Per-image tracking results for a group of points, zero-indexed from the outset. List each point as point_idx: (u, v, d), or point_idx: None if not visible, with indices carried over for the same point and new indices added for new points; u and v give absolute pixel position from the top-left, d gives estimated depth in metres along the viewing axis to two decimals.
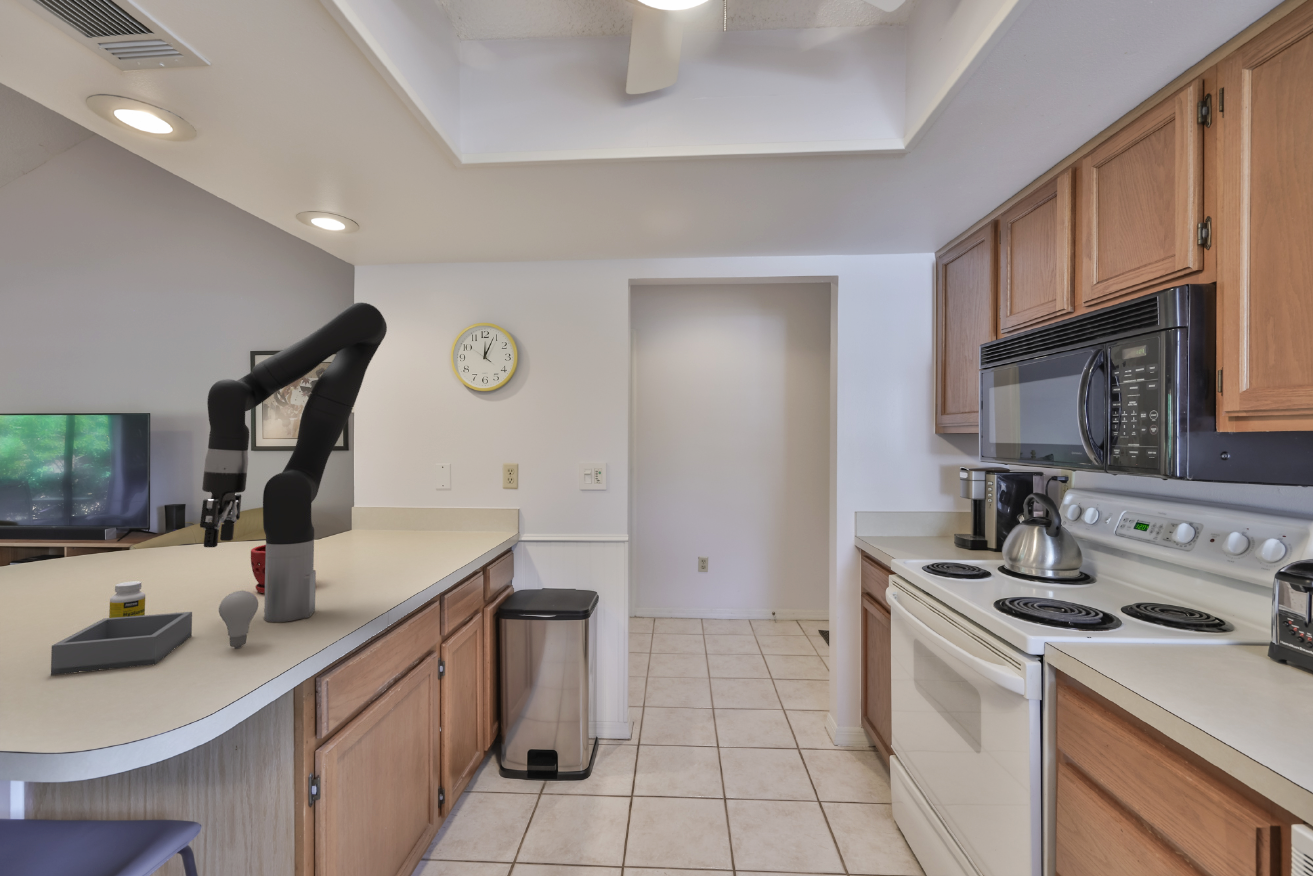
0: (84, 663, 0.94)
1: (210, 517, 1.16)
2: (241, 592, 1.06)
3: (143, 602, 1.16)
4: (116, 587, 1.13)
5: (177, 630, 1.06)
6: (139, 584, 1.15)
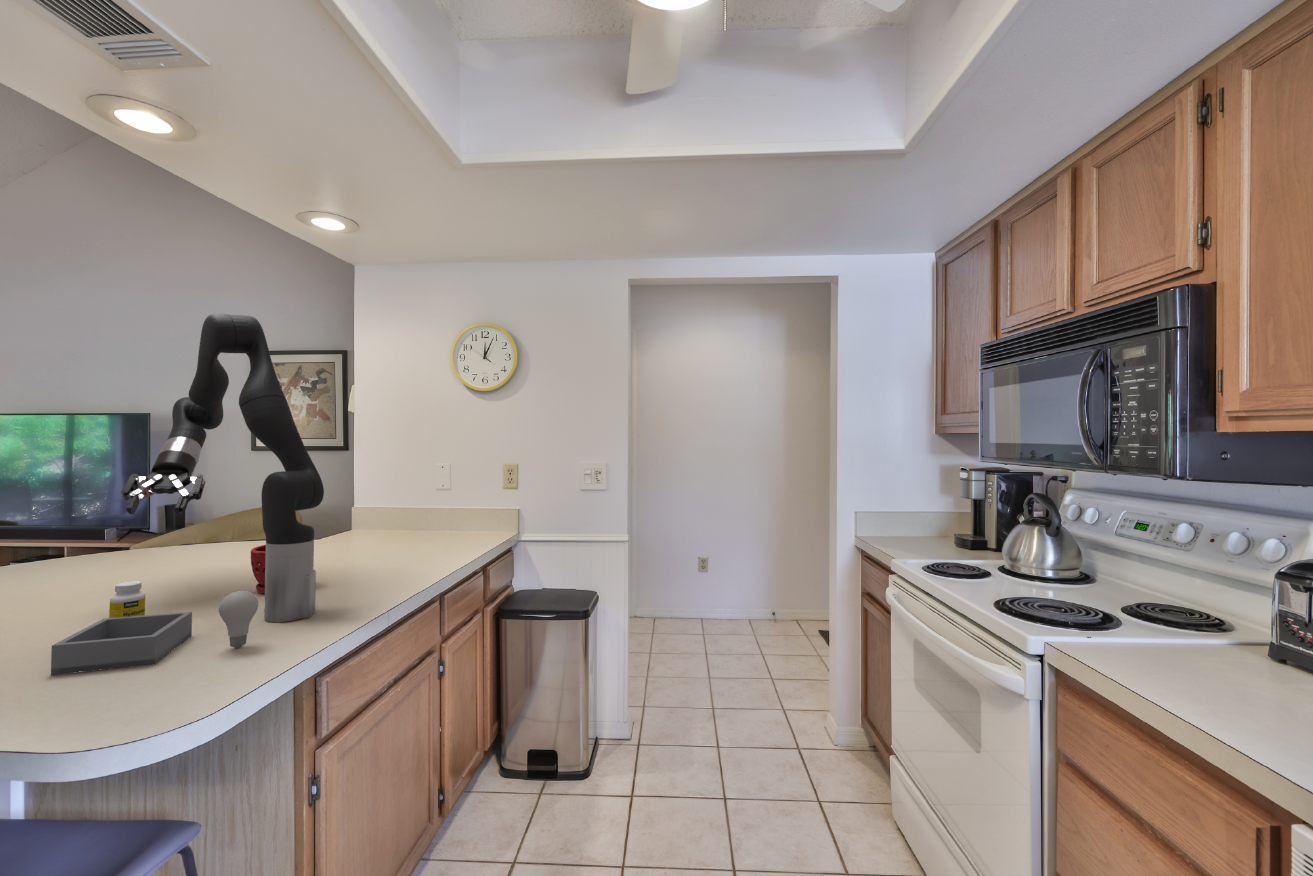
0: (84, 663, 0.94)
1: None
2: (241, 592, 1.06)
3: (143, 602, 1.16)
4: (116, 587, 1.13)
5: (177, 630, 1.06)
6: (139, 584, 1.15)
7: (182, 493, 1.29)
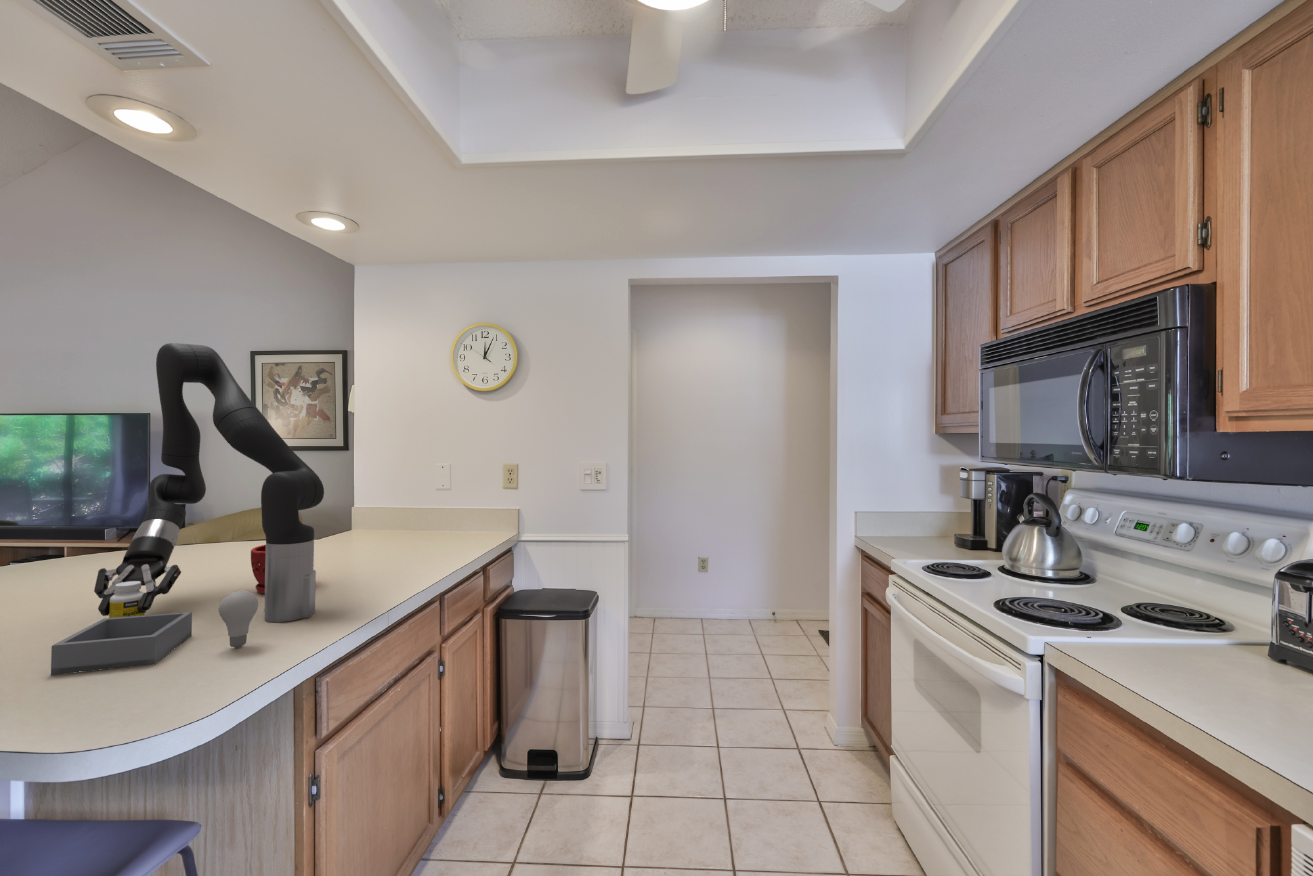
0: (84, 663, 0.94)
1: None
2: (241, 592, 1.06)
3: None
4: (116, 587, 1.13)
5: (177, 630, 1.06)
6: (139, 584, 1.15)
7: (147, 588, 1.16)
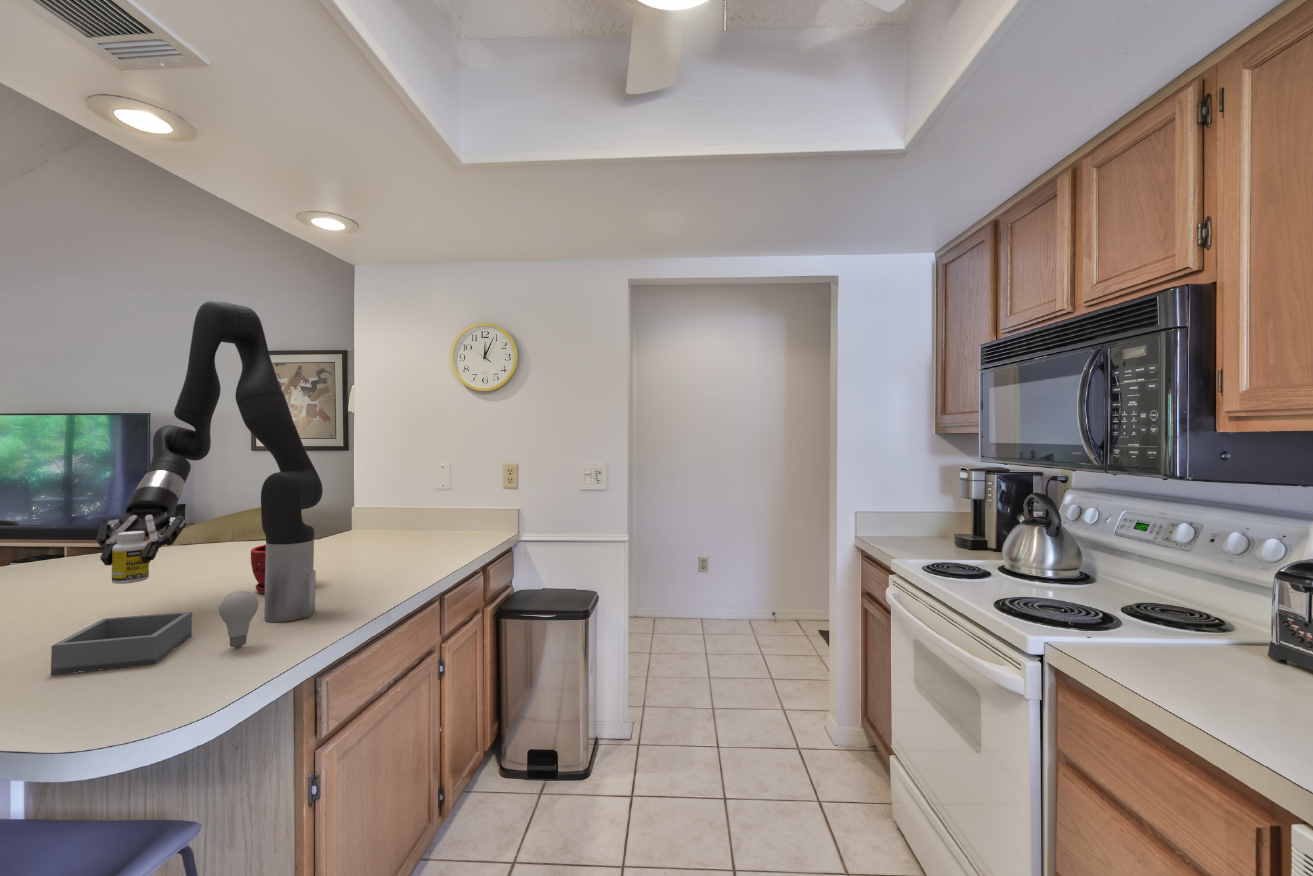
0: (84, 663, 0.94)
1: None
2: (241, 592, 1.06)
3: None
4: (118, 535, 1.08)
5: (177, 630, 1.06)
6: (142, 533, 1.10)
7: (151, 538, 1.12)
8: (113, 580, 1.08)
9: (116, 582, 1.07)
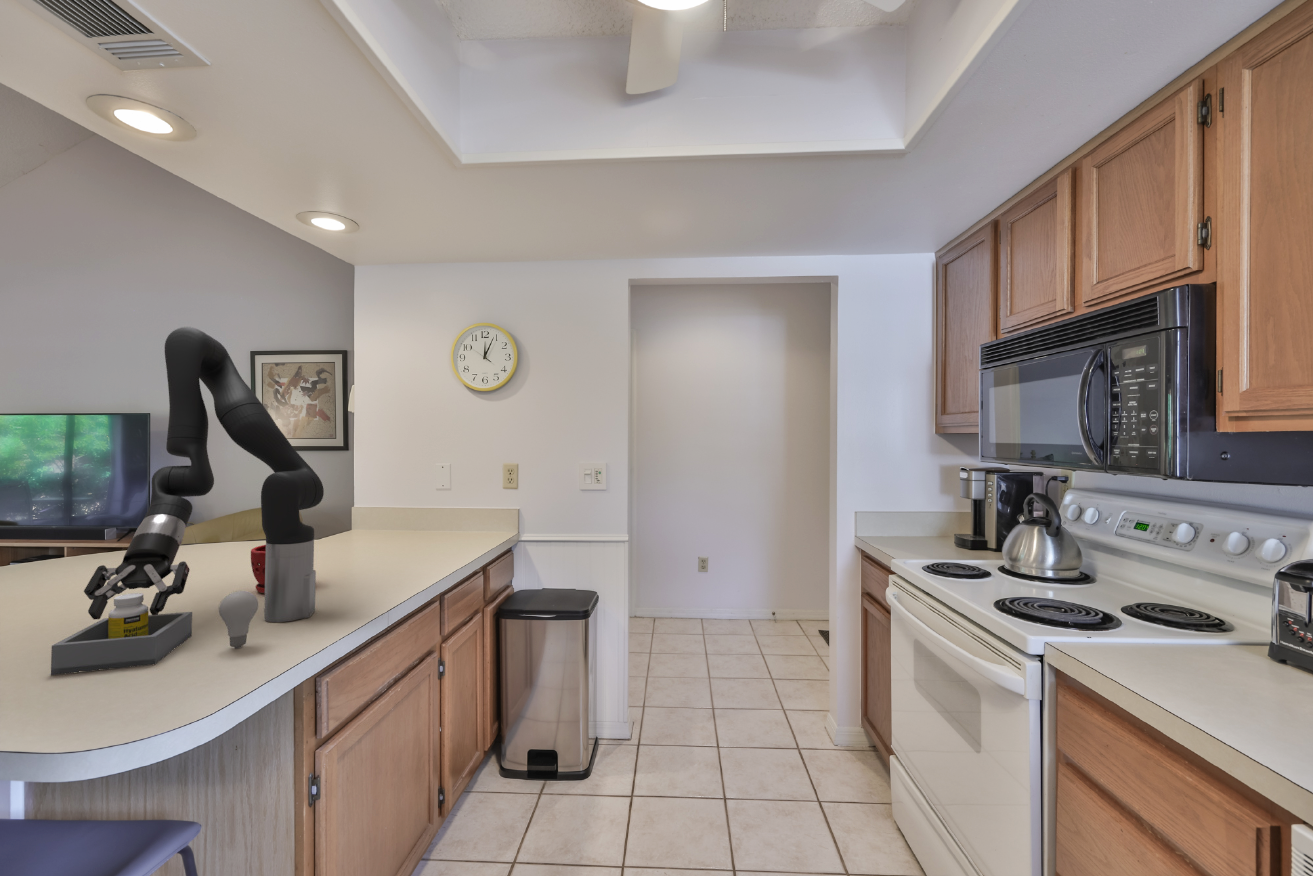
0: (84, 663, 0.94)
1: None
2: (241, 592, 1.06)
3: (146, 616, 1.03)
4: (115, 600, 1.00)
5: (177, 630, 1.06)
6: (141, 596, 1.03)
7: (159, 588, 1.05)
8: None
9: None
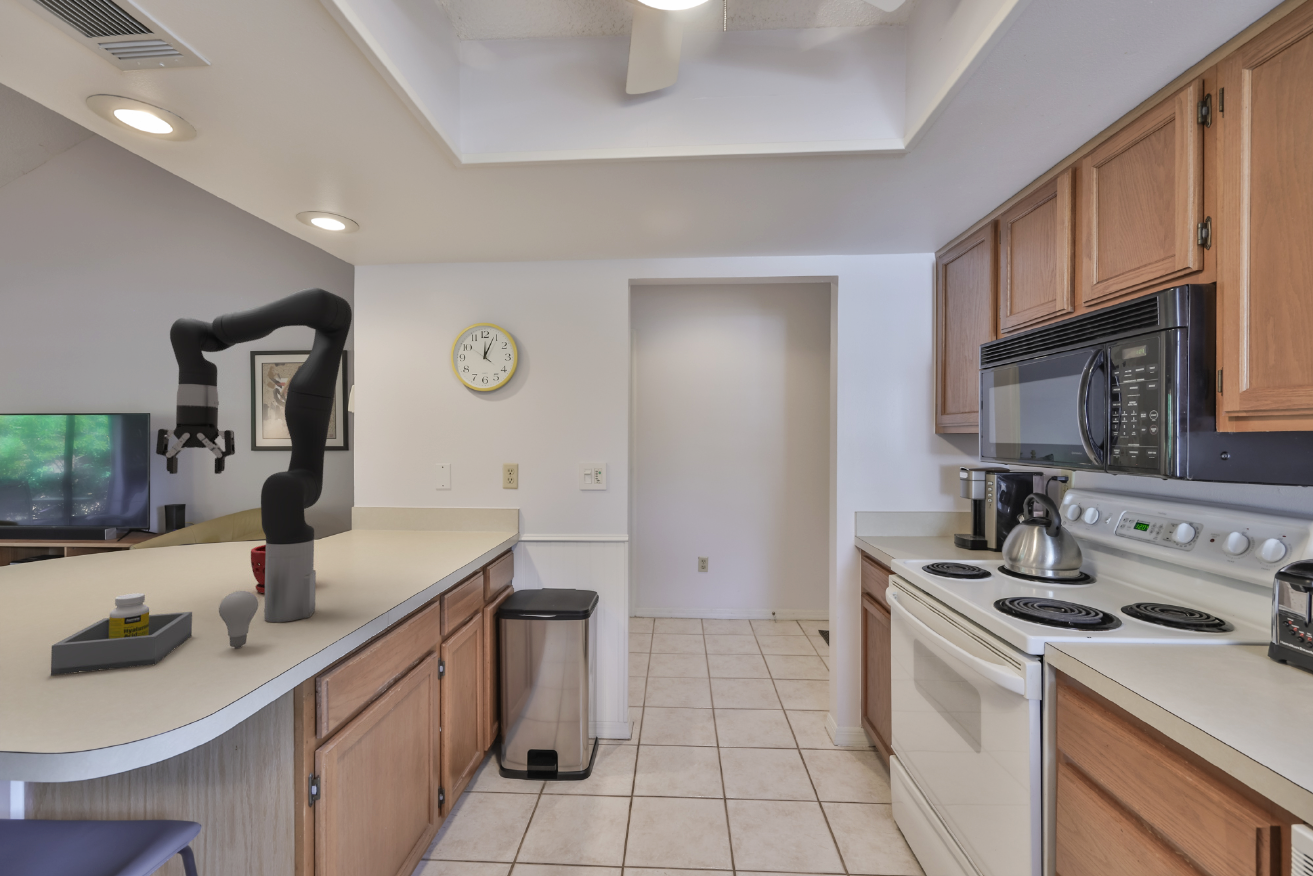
0: (84, 663, 0.94)
1: None
2: (241, 592, 1.06)
3: (146, 617, 1.03)
4: (116, 600, 1.01)
5: (177, 630, 1.06)
6: (142, 597, 1.03)
7: (216, 454, 1.29)
8: None
9: None
